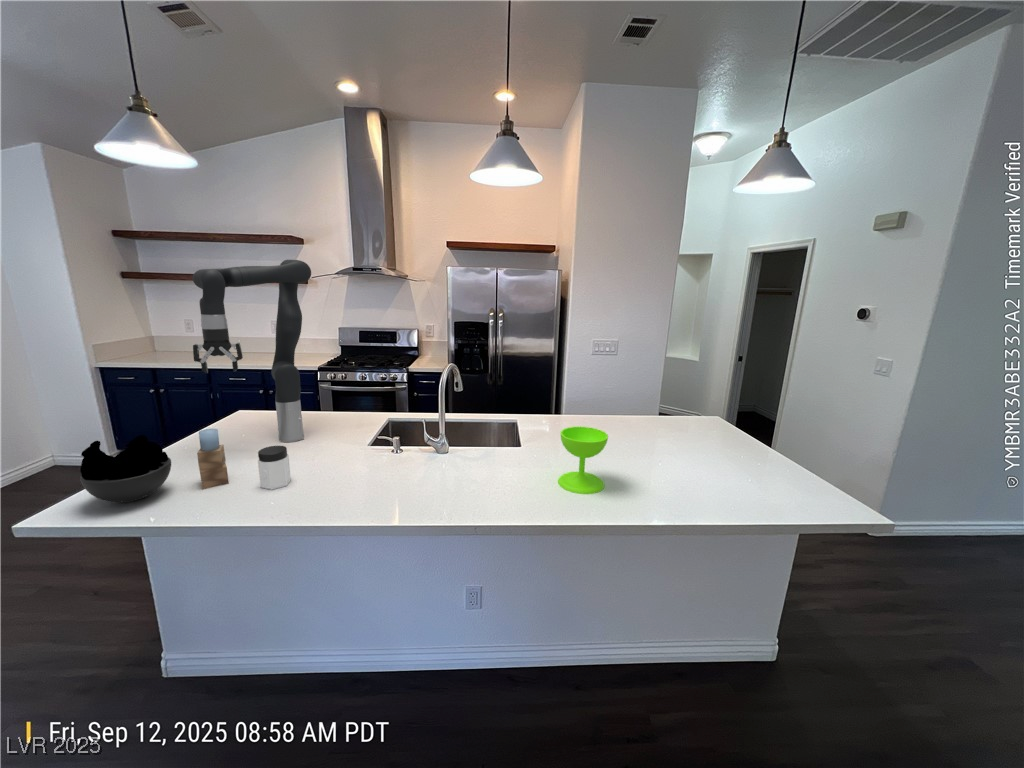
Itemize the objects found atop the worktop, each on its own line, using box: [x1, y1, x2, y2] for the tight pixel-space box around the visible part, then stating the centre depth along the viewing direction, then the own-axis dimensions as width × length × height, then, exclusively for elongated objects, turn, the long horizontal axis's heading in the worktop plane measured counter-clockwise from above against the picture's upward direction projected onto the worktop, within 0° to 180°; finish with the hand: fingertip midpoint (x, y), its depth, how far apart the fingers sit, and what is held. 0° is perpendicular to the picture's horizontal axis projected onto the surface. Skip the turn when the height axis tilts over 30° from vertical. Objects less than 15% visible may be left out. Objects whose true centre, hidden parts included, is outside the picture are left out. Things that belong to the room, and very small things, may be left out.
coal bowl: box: [79, 434, 172, 504], centre depth 123 cm, size 20×20×19 cm
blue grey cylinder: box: [198, 428, 220, 451], centre depth 133 cm, size 5×5×6 cm
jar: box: [257, 445, 292, 491], centre depth 135 cm, size 9×8×12 cm
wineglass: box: [557, 426, 609, 495], centre depth 141 cm, size 16×16×18 cm
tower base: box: [199, 462, 230, 490], centre depth 136 cm, size 7×7×6 cm
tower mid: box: [196, 444, 226, 472], centre depth 135 cm, size 6×6×6 cm
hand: (220, 372), depth 149 cm, fingers open, 8 cm apart
